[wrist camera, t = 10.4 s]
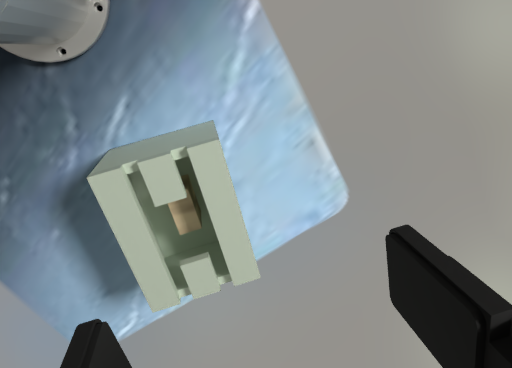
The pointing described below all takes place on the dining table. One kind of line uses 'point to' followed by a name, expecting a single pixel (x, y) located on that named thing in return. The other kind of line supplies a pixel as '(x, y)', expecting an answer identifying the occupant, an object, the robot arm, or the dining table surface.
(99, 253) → the dining table surface
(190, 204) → the block
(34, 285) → the dining table surface
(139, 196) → the box
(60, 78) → the dining table surface
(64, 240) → the dining table surface
